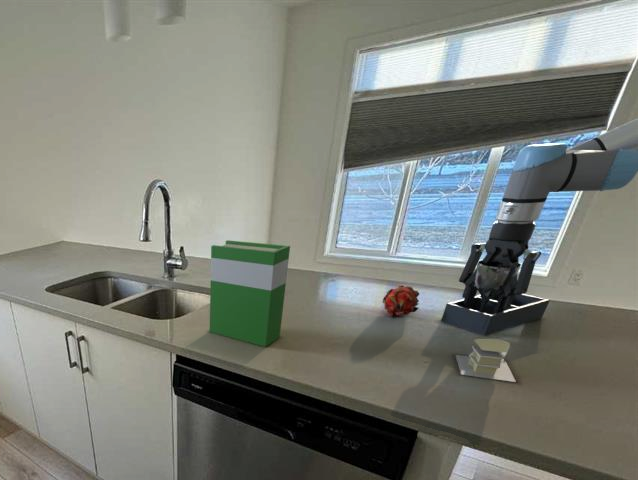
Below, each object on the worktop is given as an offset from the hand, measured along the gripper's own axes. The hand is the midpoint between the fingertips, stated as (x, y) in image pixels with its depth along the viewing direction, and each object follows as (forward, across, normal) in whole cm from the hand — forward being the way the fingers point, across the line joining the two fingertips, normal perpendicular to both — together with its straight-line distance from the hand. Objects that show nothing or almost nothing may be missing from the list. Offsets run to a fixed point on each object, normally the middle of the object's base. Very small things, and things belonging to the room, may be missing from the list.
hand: (480, 314), depth 105 cm
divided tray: (+3, 0, +5) cm, 6 cm away
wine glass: (+2, 0, 0) cm, 2 cm away
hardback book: (+3, -25, -55) cm, 60 cm away
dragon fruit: (+3, -15, -10) cm, 18 cm away
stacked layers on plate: (+3, +16, -22) cm, 27 cm away
